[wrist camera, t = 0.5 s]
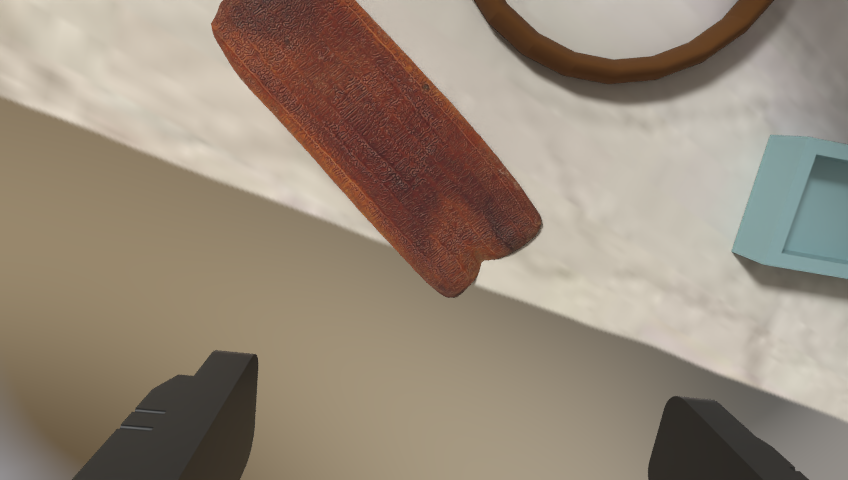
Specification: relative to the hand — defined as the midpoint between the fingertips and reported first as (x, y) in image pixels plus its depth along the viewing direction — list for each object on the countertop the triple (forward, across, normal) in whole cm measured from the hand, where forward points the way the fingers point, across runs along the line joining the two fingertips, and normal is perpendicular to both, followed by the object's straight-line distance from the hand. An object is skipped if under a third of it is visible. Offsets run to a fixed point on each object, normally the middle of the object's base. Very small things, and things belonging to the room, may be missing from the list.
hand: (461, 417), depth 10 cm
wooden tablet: (+29, +3, -4) cm, 29 cm away
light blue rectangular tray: (+28, -33, -3) cm, 43 cm away
